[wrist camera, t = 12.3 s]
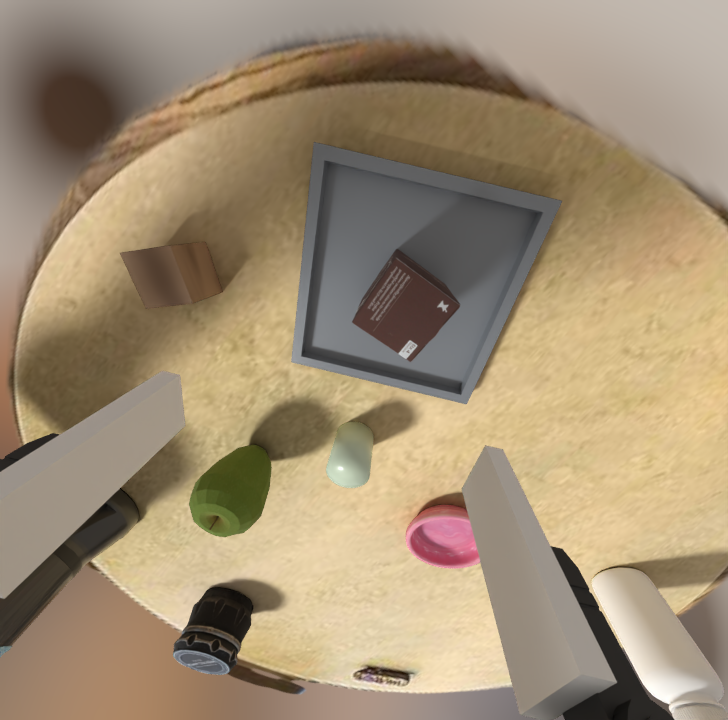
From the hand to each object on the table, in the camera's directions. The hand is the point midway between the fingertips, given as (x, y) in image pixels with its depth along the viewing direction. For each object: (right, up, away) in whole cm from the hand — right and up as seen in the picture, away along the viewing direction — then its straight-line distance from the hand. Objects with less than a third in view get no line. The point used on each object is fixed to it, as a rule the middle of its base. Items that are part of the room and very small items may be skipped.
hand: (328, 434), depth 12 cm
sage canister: (0, -7, +25) cm, 26 cm away
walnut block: (-17, +13, +17) cm, 27 cm away
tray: (+5, +10, +16) cm, 20 cm away
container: (-29, -50, +50) cm, 77 cm away
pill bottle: (+42, -32, +32) cm, 61 cm away
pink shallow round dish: (+14, -22, +31) cm, 41 cm away
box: (+5, +10, +15) cm, 19 cm away
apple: (-14, -10, +28) cm, 33 cm away
